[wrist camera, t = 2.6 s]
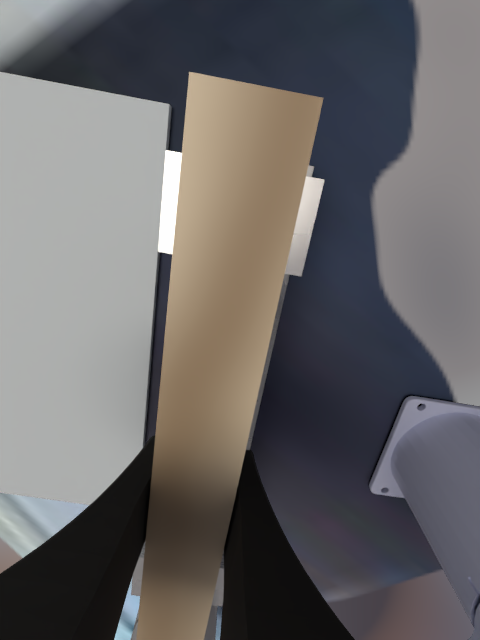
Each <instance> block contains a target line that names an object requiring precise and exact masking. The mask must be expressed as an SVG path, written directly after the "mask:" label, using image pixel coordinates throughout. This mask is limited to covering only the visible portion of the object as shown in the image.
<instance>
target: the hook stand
mask: <svg viewBox="0 0 480 640" xmlns="http://www.w3.org/2000/svg"><path fill="white" fill-rule="evenodd" d="M181 157H182V153H178V152H172V151H167V150H166V155H165V168H164V180H163V193H162V206H161V219H160V232H159V245H158V252H162V253H168V254H172V253H173V242H174V232H175V221H176V210H177V200H178V189H179V178H180V168H181ZM313 169H314V166H308V170H307V175H306V179H305V184H304V188H303V193H302V197H301V202H300V206H299V211H298V215H297V220H296V224H295V229H294V233H293V238H292V243H291V247H290V252H289V256H288V261H287V265H286V270H285V274H284V279H283V283H282V288H281V292H280V297H279V301H278V306H277V311H276V315H275V320H274V324H273V329H272V333H271V338H270V342H269V347H268V351H267V356H266V360H265V365H264V369H263V374H262V378H261V383H260V388H259V392H258V397H257V401H256V406H255V410H254V415H253V419H252V424H251V428H250V433H249V437H248V442H247V446H246V450H250V447H251V442H252V438H253V433H254V429H255V425H256V420H257V416H258V411H259V407H260V403H261V398H262V394H263V389H264V385H265V381H266V376H267V372H268V367H269V363H270V359H271V354H272V350H273V345H274V341H275V337H276V332H277V328H278V323H279V319H280V315H281V310H282V306H283V301H284V297H285V292H286V288H287V284H288V279H289V275H296V276H302V272H303V267H304V263H305V259H306V255H307V251H308V247H309V243H310V238H311V234H312V230H313V226H314V222H315V218H316V213H317V209H318V205H319V201H320V197H321V193H322V189H323V184H324V180H323V179H318V178H313V177H312V173H313ZM145 542H146V540H145ZM144 552H145V543H144V545H143V548H142V551H141V554H140V556H139V559H138V562H137V565H136V567H135V570H134V573H133V579H132V592H131V595H136V596H140V595H141V584H142V574H143V563H144ZM223 593H224V551H223V555H222V560H221V564H220V569H219V573H218V578H217V582H216V587H215V592H214V596H213V601H212V605H214V606H222V604H223Z"/></svg>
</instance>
